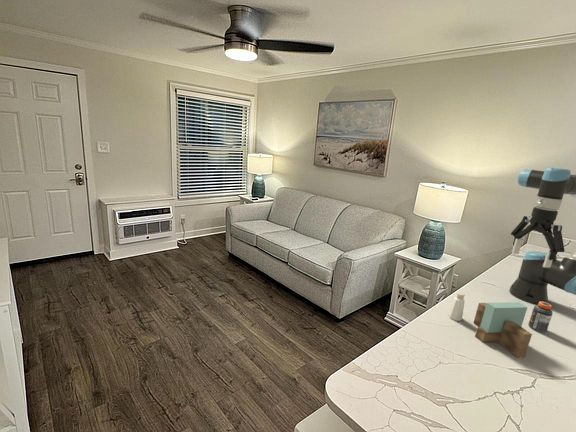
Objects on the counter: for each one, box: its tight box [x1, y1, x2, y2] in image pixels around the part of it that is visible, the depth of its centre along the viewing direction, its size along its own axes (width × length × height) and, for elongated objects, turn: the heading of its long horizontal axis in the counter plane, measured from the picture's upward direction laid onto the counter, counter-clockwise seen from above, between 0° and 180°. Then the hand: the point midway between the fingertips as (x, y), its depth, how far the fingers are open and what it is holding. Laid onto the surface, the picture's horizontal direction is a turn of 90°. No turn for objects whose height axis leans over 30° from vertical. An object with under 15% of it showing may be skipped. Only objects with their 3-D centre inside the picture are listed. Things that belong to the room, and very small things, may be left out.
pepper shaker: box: [447, 291, 465, 322], centre depth 126 cm, size 5×5×11 cm
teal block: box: [480, 301, 528, 333], centre depth 113 cm, size 14×4×10 cm, turn 101°
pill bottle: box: [528, 301, 553, 334], centre depth 124 cm, size 6×6×11 cm
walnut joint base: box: [473, 302, 533, 358], centre depth 114 cm, size 20×16×9 cm
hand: (529, 260), depth 124 cm, fingers open, 13 cm apart
